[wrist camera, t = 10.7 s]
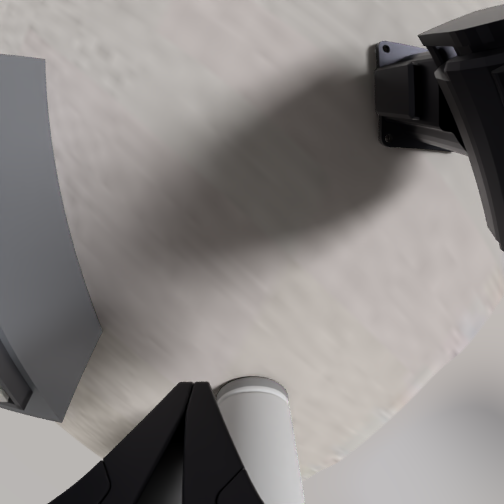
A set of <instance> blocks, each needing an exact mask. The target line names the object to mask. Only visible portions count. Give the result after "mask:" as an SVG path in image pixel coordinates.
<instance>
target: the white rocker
mask: <svg viewBox="0 0 504 504" xmlns="http://www.w3.org/2000/svg"><path fill="white" fill-rule="evenodd" d="M8 399H9V395H8V394H7V393H6V391H5V390H4V388H3V387H2V386H1V384H0V402H8Z"/></svg>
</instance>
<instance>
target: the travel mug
mask: <svg viewBox="0 0 504 504" xmlns="http://www.w3.org/2000/svg"><path fill="white" fill-rule="evenodd" d="M217 404H218V406H219V409H220V411H221V414H222V416H223V418H224V421H225V423H226V426H227V428H228V430H229V433H230V435H231V437H232V440H233V442H234V444H235V446H236V449H237V451H238V453H239V455H240V458H241V460H242V462H243V464H244V466H245V469H246V470H247V472H248V474H249V477H250V479H251V481H252V483H253V485H254V486H255V488H256V490H257V492H258V494H259V496H260V497H261V499H262V500H263V502H264V503H265V504H305V499H304V493H303V486H302V480H301V474H300V467H299V461H298V455H297V449H296V442H295V436H294V430H293V424H292V418H291V412H290V408H289V400H288V394H287V391H286V389H285V388H284V387H283V386H282V385H281V384H279V383H278V382H276V381H274V380H271V379H268V378H262V377H246V378H241V379H237V380H234V381H231V382H230V383H228V384H226V385H225V386H224V387H222V388H221V390H220V391H219V392H218V394H217Z"/></svg>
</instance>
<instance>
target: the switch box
mask: <svg viewBox="0 0 504 504" xmlns="http://www.w3.org/2000/svg"><path fill="white" fill-rule="evenodd" d="M101 333H102V329H101V326H100V324H99V321H98V318H97V316H96V313H95V310H94V308H93V305H92V302H91V299H90V296H89V294H88V291H87V288H86V285H85V282H84V279H83V276H82V272H81V269H80V266H79V263H78V259H77V256H76V253H75V249H74V246H73V242H72V238H71V235H70V231H69V227H68V223H67V219H66V215H65V211H64V206H63V202H62V197H61V192H60V188H59V183H58V177H57V172H56V166H55V160H54V154H53V148H52V141H51V133H50V125H49V116H48V105H47V92H46V74H45V59H39V58H32V57H24V56H15V55H5V54H0V384H1V386H2V387H3V388H4V390H5V391H6V393H7V394H8V395H9V399H8V402H0V407H1V408H4V409H7V410H11V411H15V412H19V413H22V414H26V415H30V416H34V417H38V418H42V419H46V420H51V421H56V422H61V423H62V422H63V419H64V416H65V414H66V411H67V409H68V407H69V404H70V402H71V399H72V397H73V395H74V392H75V390H76V388H77V385H78V383H79V381H80V378H81V376H82V374H83V372H84V369H85V367H86V365H87V363H88V361H89V358H90V356H91V354H92V352H93V350H94V348H95V346H96V344H97V342H98V339H99V337H100V335H101Z"/></svg>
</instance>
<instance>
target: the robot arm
mask: <svg viewBox="0 0 504 504" xmlns="http://www.w3.org/2000/svg"><path fill="white" fill-rule="evenodd" d="M418 37H419V39H420V40H421V42H422V44H423V46H426V47H427V49H423V48H419V47H414V46H410V45H405V44H400V43H394V42H389V41H382V42H379V43H378V44H377V45H376V59H377V69H376V70H375V72H374V76H375V104H376V112H377V113H378V115H379V141H380V143H381V144H382V145H384V146H387V147H401V148H417V149H430V150H442V151H452V152H457V153H460V154H463V155H466V156H468V157H469V160H470V163H471V166H472V169H473V172H474V176H475V179H476V182H477V186H478V189H479V193H480V197H481V201H482V205H483V209H484V213H485V217H486V221H487V226H488V228H489V229H490V231H491V232H492V234H493V236H494V237H495V239H496V240H497V241H498V242H499V245H500V249H501V250H502V251H504V4H503V5H499V6H494V7H490V8H486V9H482V10H478V11H475V12H472V13H470V14H467V15H464V16H462V17H459V18H457V19H454V20H452V21H449V22H447V23H444V24H442V25H439V26H437V27H435V28H432V29H430V30H428V31H426V32H423V33H421V34H419V35H418ZM383 46H385V47H386V48H387V52H384V51H383V49H382V47H383ZM386 135H389V137H390V139H389V141H388V142H386V140H385V137H386ZM48 504H265V503H264V502H263V500H262V499H261V497H260V496H259V494H258V492H257V490H256V488H255V486H254V485H253V483H252V481H251V479H250V477H249V474H248V472H247V470H246V469H245V466H244V464H243V462H242V460H241V458H240V455H239V453H238V451H237V449H236V446H235V444H234V442H233V440H232V437H231V435H230V433H229V430H228V428H227V426H226V423H225V421H224V418H223V416H222V414H221V411H220V409H219V406H218V404H217V401H216V399H215V396H214V394H213V391H212V389H211V386H210V384H209V382H195V383H193V382H180V383H178V384H177V385H176V386H175V387H174V388H173V389H172V390H171V391H170V392H169V393H168V394H167V396H166V397H165V398H164V399H163V400H162V401H161V402H160V403H159V404H158V405H157V406H156V407H155V408H154V409H153V410H152V411H151V412H150V413H149V414H148V415H147V416H146V417H145V418H144V419H143V420H142V421H141V422H140V423H139V424H138V425H137V426H136V427H135V428H134V429H133V430H132V431H131V432H130V433H129V434H128V435H127V436H126V437H125V438H124V439H123V440H122V441H121V442H120V443H119V444H118V445H117V446H116V447H115V448H114V449H113V450H112V451H111V452H110V453H109V454H108V455H107V456H106V457H104V458H103V461H100V462H99V463H98V464H97V465H96V466H95V467H93V468H92V469H91V470H90V471H89V472H88V473H87V474H86V475H85V476H84V477H82V478H81V479H80V480H79V481H78V482H76V483H75V484H74V485H73V486H71V487H70V488H69V489H67V490H66V491H65V492H64V493H62V494H61V495H59V496H58V497H56V498H55V499H54V500H52V501H51V502H50V503H48Z"/></svg>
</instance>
